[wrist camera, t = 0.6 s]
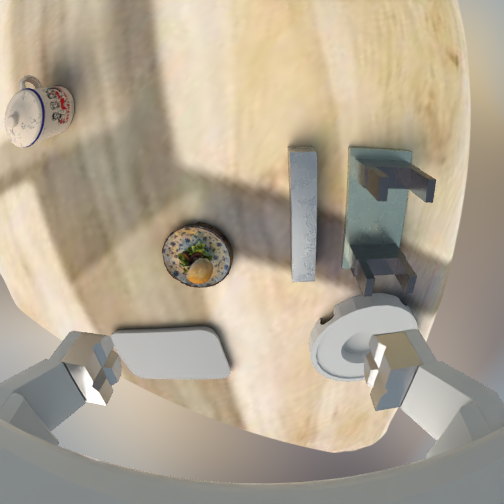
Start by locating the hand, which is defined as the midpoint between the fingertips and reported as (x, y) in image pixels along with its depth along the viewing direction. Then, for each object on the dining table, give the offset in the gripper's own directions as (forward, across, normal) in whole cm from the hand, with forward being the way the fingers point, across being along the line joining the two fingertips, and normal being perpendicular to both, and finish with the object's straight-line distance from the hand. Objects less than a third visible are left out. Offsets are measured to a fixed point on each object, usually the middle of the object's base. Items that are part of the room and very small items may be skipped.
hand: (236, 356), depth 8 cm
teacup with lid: (+35, +33, -16) cm, 51 cm away
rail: (+37, -6, +6) cm, 38 cm away
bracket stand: (+37, -18, +6) cm, 41 cm away
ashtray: (+40, -21, +34) cm, 56 cm away
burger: (+38, +11, +13) cm, 42 cm away
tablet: (+42, +21, +38) cm, 60 cm away
